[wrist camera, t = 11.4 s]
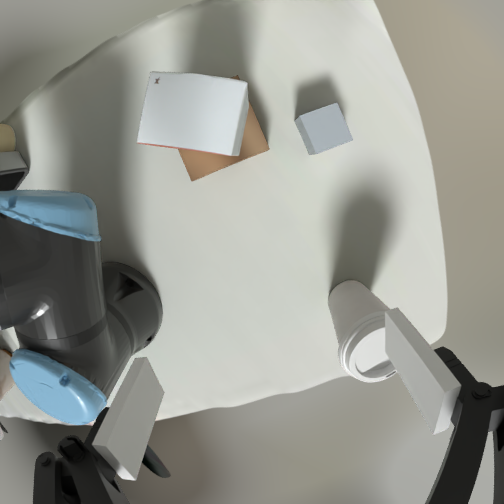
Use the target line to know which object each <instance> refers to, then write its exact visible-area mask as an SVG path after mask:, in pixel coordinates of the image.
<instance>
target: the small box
mask: <svg viewBox="0 0 504 504" xmlns="http://www.w3.org/2000/svg"><path fill="white" fill-rule="evenodd" d="M248 109H249V101H248V83H247V82H246V81H242V80H236V79H230V78H224V77H217V76H210V75H203V74H196V73H175V72H154V71H153V72H150V76H149V81H148V86H147V91H146V95H145V100H144V105H143V110H142V115H141V120H140V126H139V132H138V138H137V143H139V144H146V145H153V146H160V147H168V148H176V149H183V150H191V151H198V152H206V153H212V154H219V155H226V156H239V153H240V148H241V143H242V138H243V133H244V128H245V124H246V119H247V114H248Z"/></svg>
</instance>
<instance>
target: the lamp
mask: <svg viewBox="0 0 504 504" xmlns="http://www.w3.org/2000/svg"><path fill="white" fill-rule="evenodd" d="M11 357H12V354H11V353H10V352H8V351H7V350H5V349H1V350H0V401H1V400H2V399H3V397H4V396H5V395H6V394H7V393H8V391H9V390H10V389H11V388H12V387H13V386H14V384H15V382H14V380H13V378H12V375H11V372H10V368H9V362H10V360H11ZM2 438H3V432H2V429H1V427H0V440H1V439H2Z"/></svg>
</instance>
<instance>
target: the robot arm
mask: <svg viewBox="0 0 504 504" xmlns="http://www.w3.org/2000/svg"><path fill="white" fill-rule="evenodd" d="M100 241H101V235H100V234H99V230H98V221H97V210H96V206H95V203H94V202H93V200H92V199H91V198H90V197H89V196H87V195H85V194H82V193H76V192H67V191H53V190H11V191H0V330H3V329H7V328H10V327H13V326H14V328H15V332H16V335H17V338H18V341H19V345H20V347H19V349H17V350H15V351H14V352H13V354H12V357H11V360H10V362H9V368H10V372H11V375H12V378H13V380H14V382H15V383H16V385H17V386H18V388H19V389H20V390H21V392H22V393H23V394H24V395H25V396H26V397H27V398H28V399H29V400H30V401H31V402H32V403H33V404H34V405H36V406H37V407H38V408H39V409H41V410H42V411H44V412H45V413H47V414H48V415H50V416H52V417H54V418H56V419H58V420H60V421H63V422H66V423H70V424H75V425H84V424H88V423H89V422H92V421H94V420H95V419H96V417H97V416H98V417H97V419H96V422H95V423H94V425H93V428H92V429H91V431H90V433H89V435H88V437H87V438H86V440H85V443H84V444H83V442H82V441H81V440H80V439H79V438H78V437H77V436H74V435H72V436H71V435H70V436H67V437H65V438H64V439H62V440H61V441H60V443H59V445H58V451H59V453H60V454H61V455H62V456H63V457H62V458H57V457H56V456H55V455H54V454H53V453H51V452H45V453H42V454H41V455H39V456H38V458H37V459H36V463H35V473H34V490H33V491H34V492H33V504H130V503H129V501H128V500H127V498H126V496H125V494H124V493H123V491H122V489H121V487H120V485H119V483H118V482H117V480H116V479H115V478H114V477H115V475H116V473H117V474H118V475H120V477H121V478H122V479H128V480H136V478H137V475H138V472H139V469H140V466H141V462H142V459H143V456H144V453H145V450H146V447H147V443H148V440H149V437H150V434H151V431H152V428H153V425H154V422H155V419H156V416H157V413H158V410H159V407H160V404H161V401H162V398H163V395H164V391H163V389H162V387H161V385H160V383H159V381H158V379H157V377H156V375H155V373H154V371H153V369H152V367H151V365H150V363H149V360H148V358H147V357H142V358H135V360H134V361H133V363H132V365H131V367H130V369H129V371H128V373H127V375H126V377H125V379H124V381H123V382H122V384H121V386H120V388H119V390H118V392H117V394H116V396H115V398H114V400H113V402H112V404H111V406H110V407H105V406H106V404H107V400H108V398H109V396H110V394H111V392H112V390H113V388H114V386H115V385H116V383H117V381H118V379H119V377H120V375H121V373H122V372H123V370H124V368H125V366H126V364H127V363H128V361H129V359H130V357H131V356H132V355H134V354H135V353H137V352H139V351H140V350H142V349H143V348H145V347H146V346H148V345H149V344H150V343H151V342H152V341H153V339H154V338H155V336H156V334H157V332H158V330H159V328H160V326H161V323H162V306H161V302H160V299H159V296H158V294H157V292H156V290H155V289H154V287H153V286H152V284H151V283H150V282H149V281H148V280H147V279H146V278H145V277H144V276H143V275H142V274H141V273H140V272H138V271H137V270H135V269H133V268H132V267H129V266H127V265H124V264H121V263H115V262H107V263H101V250H100ZM385 352H386V354H387V356H388V357H389V359H390V361H391V362H392V364H393V366H394V367H395V369H396V371H397V372H398V374H399V376H400V377H401V379H402V381H403V382H404V384H405V386H406V387H407V389H408V391H409V393H410V394H411V396H412V398H413V400H414V401H415V403H416V405H417V407H418V408H419V410H420V412H421V414H422V416H423V418H424V419H425V421H426V423H427V425H428V426H429V428H430V430H431V432H432V434H433V435H434V434H437V433H439V432H441V431H444V430H446V429H448V427H449V424H450V421H452V423H453V424H454V426H455V427H454V430H453V432H452V435H451V438H450V442H449V446H448V448H447V451H446V454H445V457H444V460H443V462H442V465H441V468H440V470H439V473H438V475H437V478H436V480H435V483H434V485H433V487H432V489H431V492H430V494H429V496H428V498H427V501H426V503H425V504H468V502H469V499H470V496H471V493H472V491H473V487H474V484H475V481H476V478H477V475H478V471H479V468H480V464H481V460H482V456H483V452H484V448H485V443H486V439H487V435H488V432H490V431H493V441H494V500H493V504H504V385H503V386H498V387H491V386H490V385H489V384H487V383H484V382H477V381H476V380H475V378H474V377H473V376H472V375H471V373H470V372H469V371H468V370H467V369H466V367H465V366H464V365H463V364H461V361H460V360H459V359H457V357H456V356H455V355H454V354H453V352H452V351H451V350H449V349H447V348H445V347H440V348H438V349H435V350H433V349H432V348H431V346H430V345H429V344H428V343H427V341H426V340H425V339H424V338H423V337H422V335H421V334H420V333H419V332H418V331H417V329H416V328H415V327H414V326H413V325H412V324H411V322H410V321H409V320H408V319H407V318H406V317H405V315H404V314H403V313H402V312H401V311H400V310H399V308H394V309H391V310H387V311H385ZM104 407H105V408H104ZM103 408H104V409H103ZM102 409H103V410H102Z"/></svg>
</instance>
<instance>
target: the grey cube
mask: <svg viewBox="0 0 504 504" xmlns="http://www.w3.org/2000/svg"><path fill="white" fill-rule="evenodd" d="M295 123H296V125H297V128H298V130H299V132H300V134H301V137H302V139H303V141H304V143H305V146H306V148H307V150H308V153H309V155H312V154H318V153H321V152H323V151H326V150H329V149H331V148H334V147H336V146H339V145H342V144H344V143H347V142H350V141H352V140H353V138H352V136H351V133H350V131H349V129H348V126H347V124H346V121H345V119H344V117H343V115H342V112H341V110H340V108H339V106H338V103H334V104H331V105H328V106H325V107H322V108H320V109H317V110H314V111H311V112H308V113H306V114H303V115H300V116H299V117H298V118H297V119H296V120H295Z"/></svg>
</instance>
